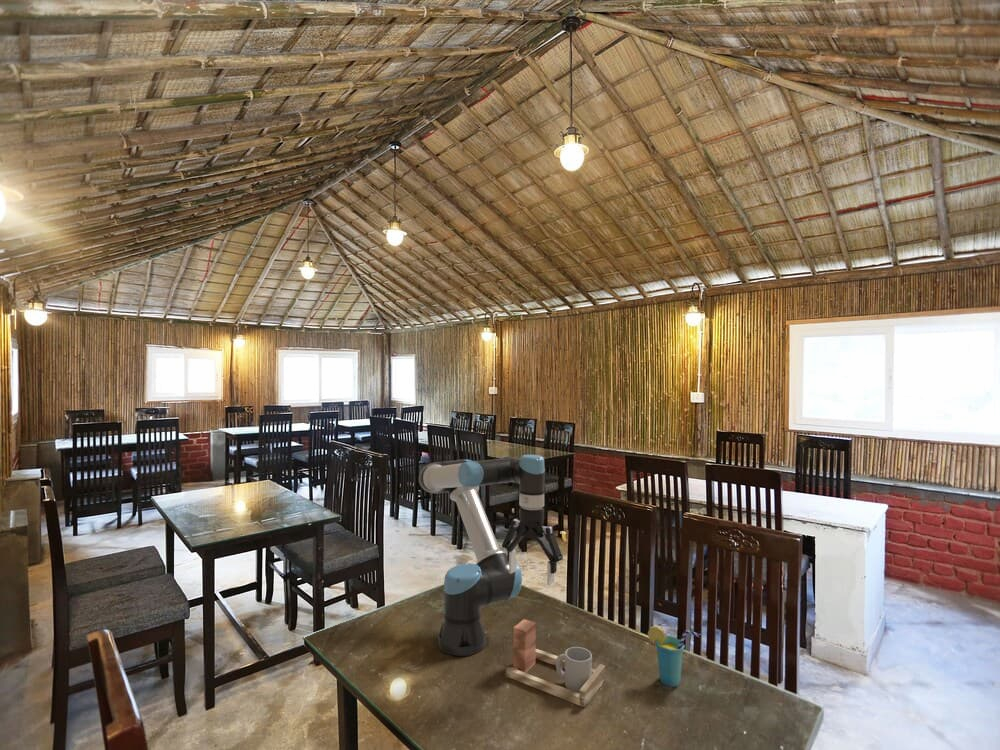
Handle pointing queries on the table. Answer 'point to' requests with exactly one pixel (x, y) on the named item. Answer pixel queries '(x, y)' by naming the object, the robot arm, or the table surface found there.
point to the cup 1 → (575, 667)
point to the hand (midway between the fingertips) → (531, 577)
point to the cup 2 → (669, 655)
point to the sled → (528, 654)
